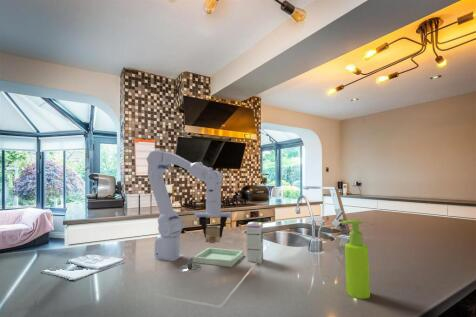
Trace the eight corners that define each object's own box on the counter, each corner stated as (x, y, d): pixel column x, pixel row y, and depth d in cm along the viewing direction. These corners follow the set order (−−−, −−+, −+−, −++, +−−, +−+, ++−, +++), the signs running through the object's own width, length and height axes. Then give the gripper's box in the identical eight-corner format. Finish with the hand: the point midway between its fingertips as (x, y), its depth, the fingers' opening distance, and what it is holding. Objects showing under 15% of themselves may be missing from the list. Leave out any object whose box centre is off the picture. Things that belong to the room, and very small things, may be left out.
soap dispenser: (339, 289, 72) (336, 219, 74) (362, 288, 73) (359, 218, 74) (349, 299, 66) (347, 222, 68) (374, 298, 67) (371, 222, 69)
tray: (192, 263, 94) (192, 257, 95) (208, 253, 107) (208, 247, 107) (231, 268, 89) (231, 261, 90) (243, 257, 102) (243, 251, 102)
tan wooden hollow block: (207, 238, 99) (207, 226, 99) (220, 238, 99) (220, 225, 99) (205, 243, 92) (205, 229, 93) (219, 243, 92) (219, 229, 93)
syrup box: (261, 263, 94) (261, 224, 95) (246, 262, 95) (246, 223, 97) (263, 259, 100) (263, 221, 101) (248, 258, 101) (248, 221, 102)
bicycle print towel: (125, 264, 96) (125, 258, 96) (71, 284, 77) (71, 277, 78) (92, 257, 104) (92, 252, 104) (36, 274, 85) (36, 267, 86)
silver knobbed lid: (173, 272, 85) (173, 261, 86) (185, 264, 93) (185, 254, 93) (194, 275, 83) (194, 263, 83) (205, 267, 90) (205, 256, 91)
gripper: (193, 202, 94) (192, 239, 93) (231, 202, 94) (231, 239, 93) (196, 200, 101) (195, 235, 100) (232, 200, 101) (232, 235, 100)
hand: (213, 237), depth 97 cm, fingers closed on tan wooden hollow block, 5 cm apart
